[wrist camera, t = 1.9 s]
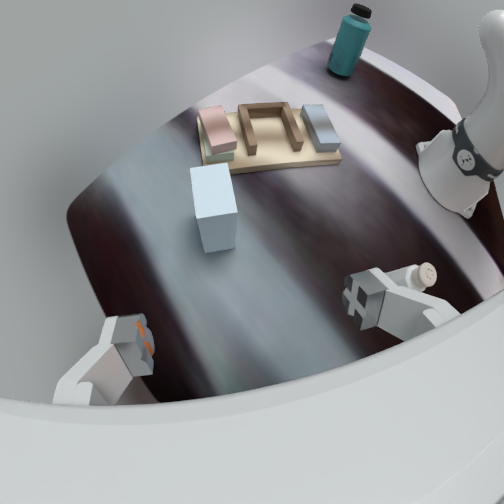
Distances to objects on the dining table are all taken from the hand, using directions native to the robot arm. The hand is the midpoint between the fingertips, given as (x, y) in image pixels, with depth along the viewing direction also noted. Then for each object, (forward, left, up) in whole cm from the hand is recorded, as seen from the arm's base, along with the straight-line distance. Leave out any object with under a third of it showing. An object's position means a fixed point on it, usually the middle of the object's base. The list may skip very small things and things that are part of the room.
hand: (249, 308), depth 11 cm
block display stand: (-20, -23, -25) cm, 39 cm away
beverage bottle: (-48, -35, -25) cm, 64 cm away
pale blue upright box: (-5, -13, -25) cm, 28 cm away
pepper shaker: (-21, +7, -25) cm, 33 cm away
